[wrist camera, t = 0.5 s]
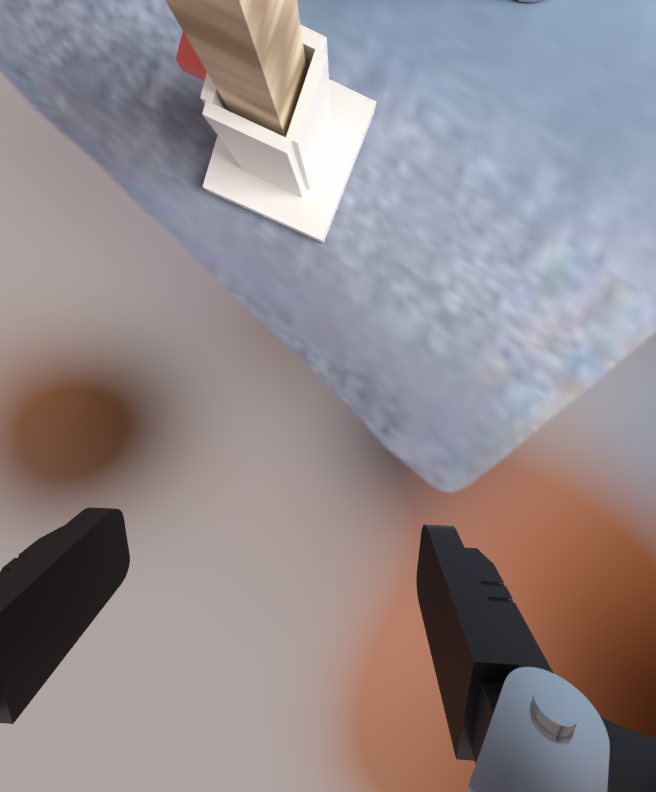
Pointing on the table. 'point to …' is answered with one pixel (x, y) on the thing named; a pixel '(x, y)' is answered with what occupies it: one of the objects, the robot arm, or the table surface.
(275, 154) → the sleeve stand
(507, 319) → the table surface
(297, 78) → the post
